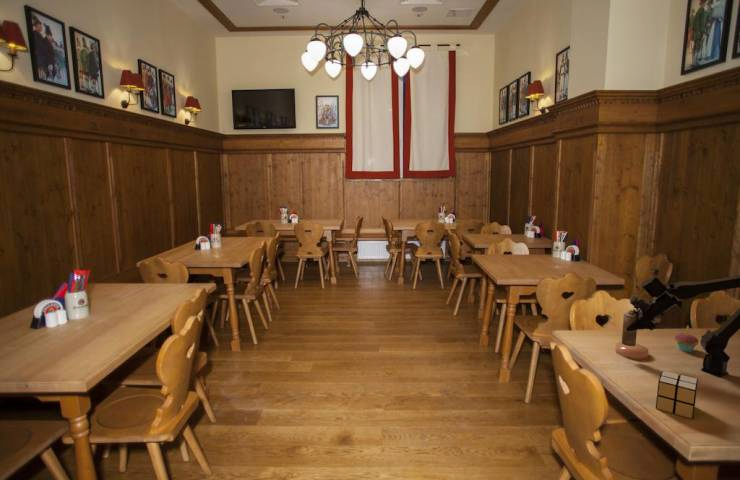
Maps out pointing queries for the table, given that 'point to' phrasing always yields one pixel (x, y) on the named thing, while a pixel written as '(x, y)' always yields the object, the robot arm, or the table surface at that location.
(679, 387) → the puzzle cube
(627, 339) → the pepper mill
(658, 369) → the table surface
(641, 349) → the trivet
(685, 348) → the cupcake
